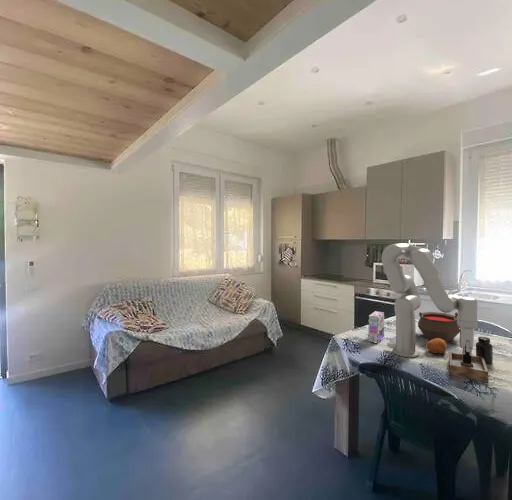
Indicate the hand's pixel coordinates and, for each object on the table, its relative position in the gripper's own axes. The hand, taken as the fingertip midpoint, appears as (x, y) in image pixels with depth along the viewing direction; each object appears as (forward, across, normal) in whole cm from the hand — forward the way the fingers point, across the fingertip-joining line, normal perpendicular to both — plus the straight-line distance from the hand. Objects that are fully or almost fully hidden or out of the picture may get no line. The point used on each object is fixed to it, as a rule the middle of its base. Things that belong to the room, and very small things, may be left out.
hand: (466, 361), depth 144 cm
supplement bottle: (+4, -14, +8) cm, 17 cm away
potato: (+4, -16, -12) cm, 21 cm away
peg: (+2, 0, 0) cm, 2 cm away
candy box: (+4, -21, -44) cm, 49 cm away
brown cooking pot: (+4, -43, -12) cm, 45 cm away
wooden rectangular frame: (+4, +2, 0) cm, 4 cm away
